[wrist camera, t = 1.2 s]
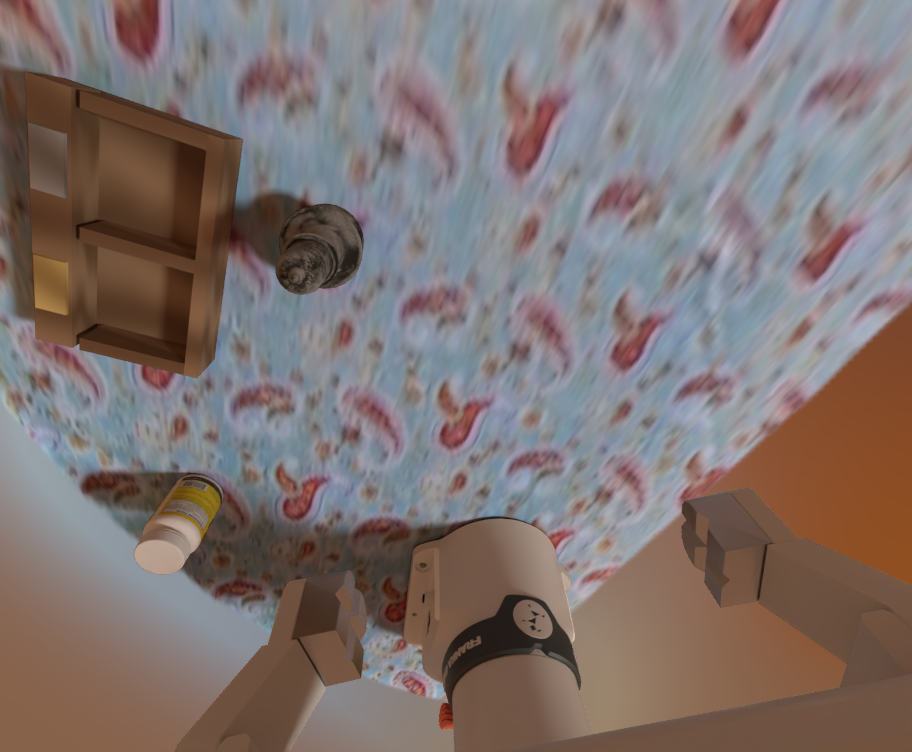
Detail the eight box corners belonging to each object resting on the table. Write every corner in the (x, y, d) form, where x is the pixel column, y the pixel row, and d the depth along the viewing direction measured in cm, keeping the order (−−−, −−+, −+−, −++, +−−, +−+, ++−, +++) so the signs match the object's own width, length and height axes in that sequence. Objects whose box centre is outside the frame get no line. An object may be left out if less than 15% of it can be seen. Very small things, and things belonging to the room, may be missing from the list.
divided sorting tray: (214, 359, 41) (195, 379, 38) (67, 322, 39) (32, 340, 36) (243, 139, 34) (222, 139, 31) (64, 78, 32) (20, 70, 28)
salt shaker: (279, 209, 36) (220, 239, 26) (354, 191, 36) (325, 214, 26) (306, 283, 39) (263, 338, 28) (376, 267, 39) (359, 316, 28)
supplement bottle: (194, 516, 49) (153, 585, 41) (163, 484, 47) (114, 550, 39) (234, 499, 48) (200, 566, 41) (204, 465, 46) (162, 529, 39)
